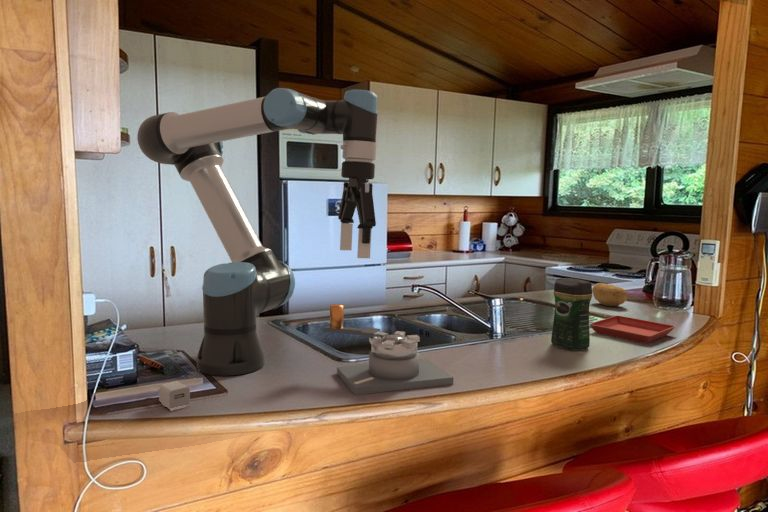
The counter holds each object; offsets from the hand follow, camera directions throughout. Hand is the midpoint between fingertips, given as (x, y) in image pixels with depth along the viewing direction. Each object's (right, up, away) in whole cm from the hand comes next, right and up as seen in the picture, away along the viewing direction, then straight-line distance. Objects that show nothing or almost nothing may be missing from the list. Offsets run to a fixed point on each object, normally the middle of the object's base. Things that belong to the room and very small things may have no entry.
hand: (354, 254), depth 130 cm
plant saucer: (+80, -24, +36) cm, 92 cm away
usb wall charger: (-33, -29, -24) cm, 50 cm away
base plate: (+9, -27, -7) cm, 30 cm away
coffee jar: (+57, -25, +21) cm, 66 cm away
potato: (+91, -19, +79) cm, 122 cm away
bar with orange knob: (+4, -21, -6) cm, 22 cm away
